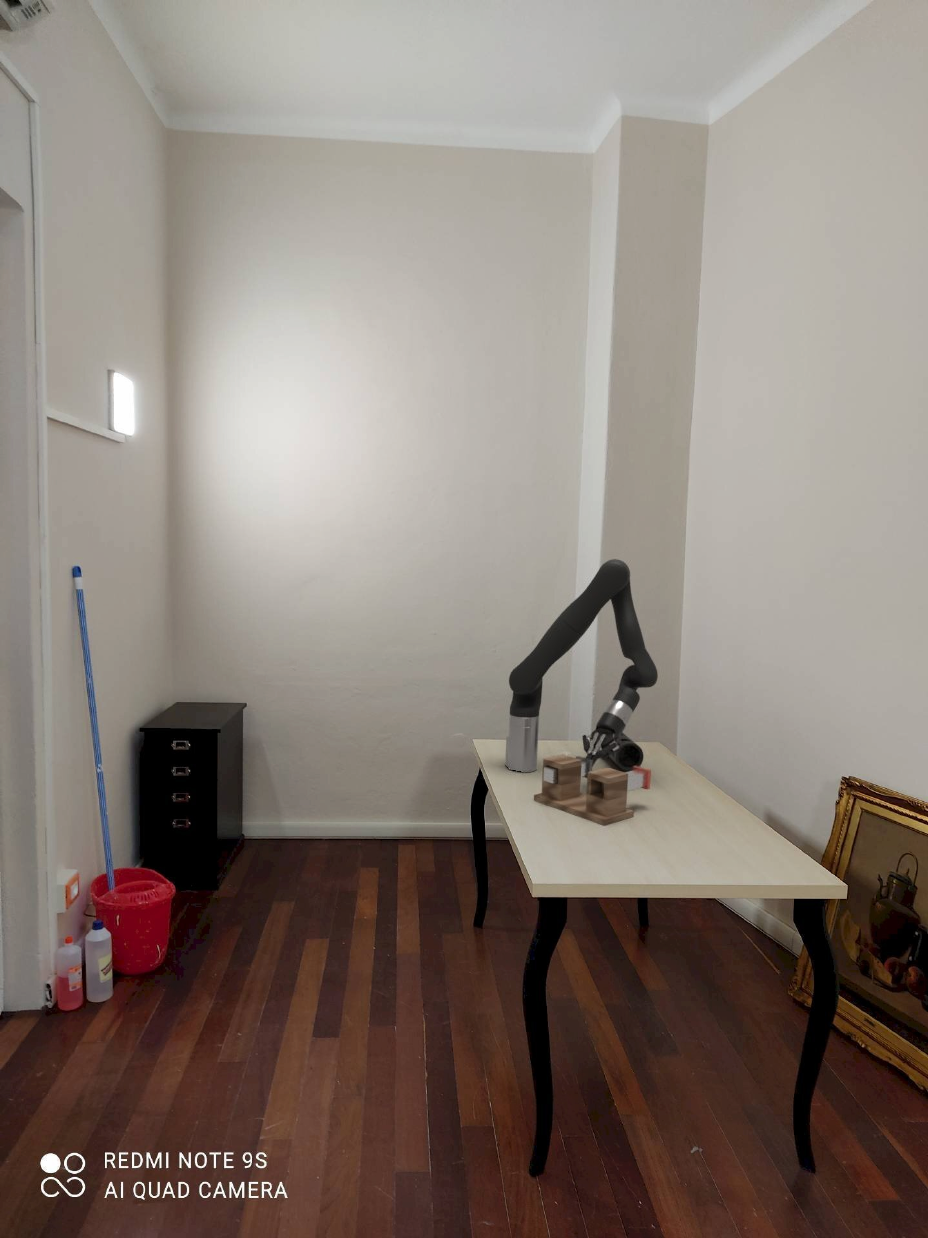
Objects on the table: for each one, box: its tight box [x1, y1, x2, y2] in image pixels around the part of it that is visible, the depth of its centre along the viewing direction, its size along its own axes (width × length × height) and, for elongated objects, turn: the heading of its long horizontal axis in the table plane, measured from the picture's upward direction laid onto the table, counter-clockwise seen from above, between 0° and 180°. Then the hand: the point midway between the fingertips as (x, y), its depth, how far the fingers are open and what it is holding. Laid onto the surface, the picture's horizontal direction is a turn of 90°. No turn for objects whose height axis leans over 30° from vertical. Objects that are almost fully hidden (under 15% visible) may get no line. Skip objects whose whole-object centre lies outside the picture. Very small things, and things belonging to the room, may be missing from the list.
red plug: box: [602, 766, 652, 792], centre depth 227 cm, size 5×15×5 cm, turn 131°
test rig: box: [533, 754, 635, 826], centre depth 228 cm, size 25×12×12 cm, turn 41°
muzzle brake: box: [604, 731, 644, 772], centre depth 277 cm, size 10×28×10 cm, turn 5°
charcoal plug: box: [543, 755, 593, 783], centre depth 236 cm, size 5×15×5 cm, turn 131°
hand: (586, 767), depth 241 cm, fingers closed
